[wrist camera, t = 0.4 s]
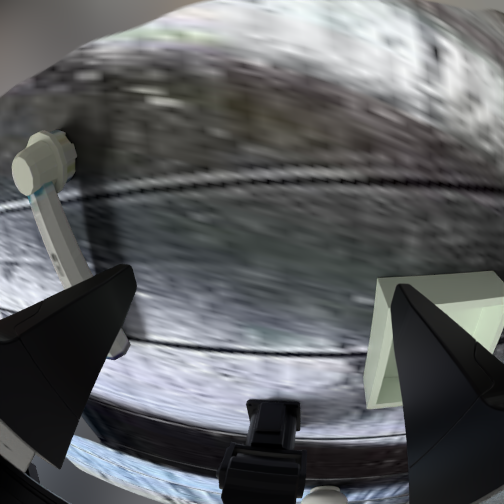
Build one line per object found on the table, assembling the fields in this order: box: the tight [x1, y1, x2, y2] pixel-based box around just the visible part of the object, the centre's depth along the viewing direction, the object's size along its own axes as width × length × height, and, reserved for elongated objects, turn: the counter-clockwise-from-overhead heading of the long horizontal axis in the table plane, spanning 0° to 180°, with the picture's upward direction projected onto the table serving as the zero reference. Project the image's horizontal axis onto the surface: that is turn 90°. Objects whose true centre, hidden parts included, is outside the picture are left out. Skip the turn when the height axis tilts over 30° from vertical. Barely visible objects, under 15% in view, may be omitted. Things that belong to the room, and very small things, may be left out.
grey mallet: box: [12, 129, 131, 360], centre depth 26 cm, size 5×7×25 cm
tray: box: [363, 271, 504, 409], centre depth 23 cm, size 13×13×4 cm
